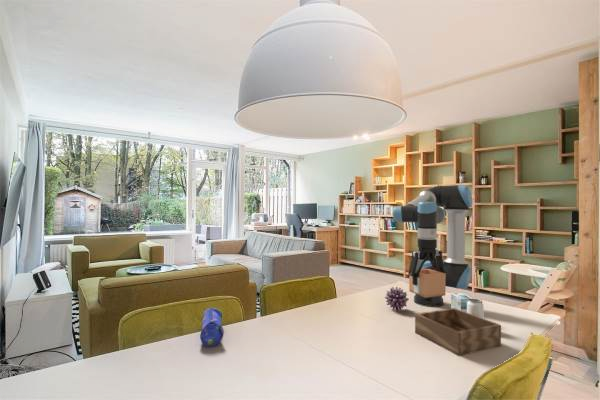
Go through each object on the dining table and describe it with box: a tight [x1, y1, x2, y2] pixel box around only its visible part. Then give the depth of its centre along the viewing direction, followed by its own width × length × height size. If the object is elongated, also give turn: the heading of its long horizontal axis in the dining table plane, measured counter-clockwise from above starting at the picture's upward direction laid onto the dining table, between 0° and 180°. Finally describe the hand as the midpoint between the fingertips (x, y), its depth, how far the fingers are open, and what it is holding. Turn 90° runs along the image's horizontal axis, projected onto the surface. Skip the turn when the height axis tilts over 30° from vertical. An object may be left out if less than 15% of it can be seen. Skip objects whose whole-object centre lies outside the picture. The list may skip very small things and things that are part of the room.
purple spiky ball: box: [384, 286, 410, 311], centre depth 166 cm, size 12×12×12 cm
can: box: [467, 298, 485, 319], centre depth 142 cm, size 6×6×12 cm
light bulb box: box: [450, 292, 474, 313], centre depth 154 cm, size 11×7×11 cm, turn 179°
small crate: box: [408, 269, 446, 298], centre depth 135 cm, size 10×10×9 cm
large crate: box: [414, 308, 502, 357], centre depth 130 cm, size 22×22×8 cm
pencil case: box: [199, 307, 225, 348], centre depth 131 cm, size 22×9×10 cm, turn 15°
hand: (427, 291), depth 135 cm, fingers closed on small crate, 10 cm apart
